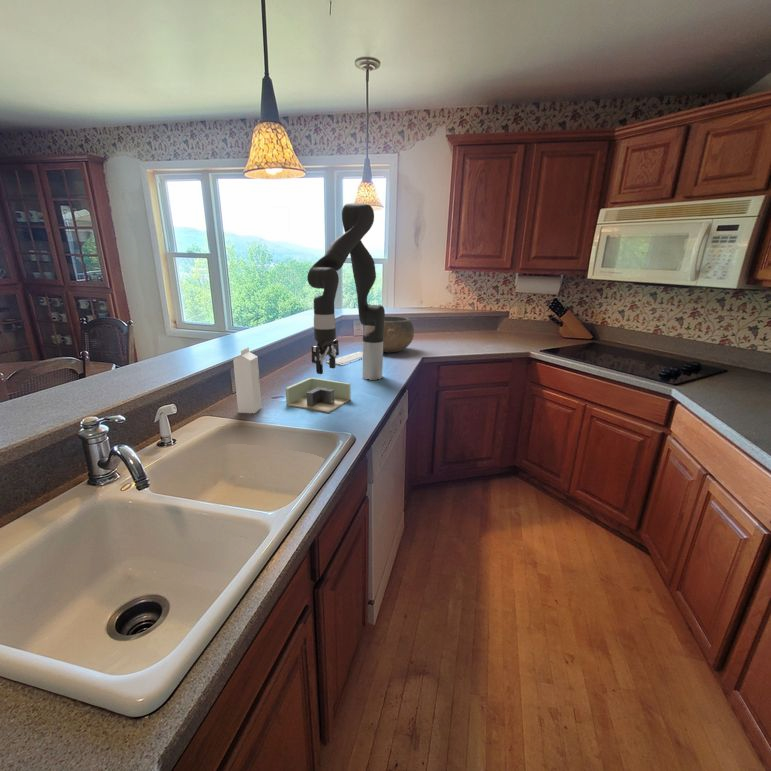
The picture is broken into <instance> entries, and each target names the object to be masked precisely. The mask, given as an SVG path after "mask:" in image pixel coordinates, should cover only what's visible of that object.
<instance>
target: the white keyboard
mask: <svg viewBox="0 0 771 771" xmlns="http://www.w3.org/2000/svg"><path fill="white" fill-rule="evenodd" d="M361 357H363V351H357V352H353V353H349V354H346V355H343V356H340V357H336V358H335V364H337V365H336V366H339V365H343V364H346V363H348V362H351V361H353V360H356V359H359V358H361ZM325 363H326V364H328V363H329V359H328V360H327V359H326V362H325Z"/></svg>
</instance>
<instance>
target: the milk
mask: <svg viewBox="0 0 771 771" xmlns="http://www.w3.org/2000/svg"><path fill="white" fill-rule="evenodd" d="M258 357H259V356H257V355H256V354H254V353H252V352H250V349H249V347H246V348H244V349H241V351H240V355H239V356H238V357H236V358H234V359H233V360H232V362H233V371H234V381H235V392H236V402H237V404H236V405H237V413H238V414H252V413H253V414H256V413H257V412H258V411H259V410H261V408H262V397H261V396H262V395H261V386H260V371H259V360H258Z"/></svg>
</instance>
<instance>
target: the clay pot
mask: <svg viewBox="0 0 771 771" xmlns="http://www.w3.org/2000/svg"><path fill="white" fill-rule="evenodd" d="M374 329H375V326H366V325H365V328H364V334H366V333H370V332H372V331H374ZM414 337H415V329H414V324H413V323H412V320H410V318H409V317H404V316H392V315H389V316H385V320H384V335H383V353H384V352H388V353H398V352H400V351H403V350H405V349H406V348H407V347H409V346H410V345H411V343H412V341H413V340H414Z"/></svg>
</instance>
